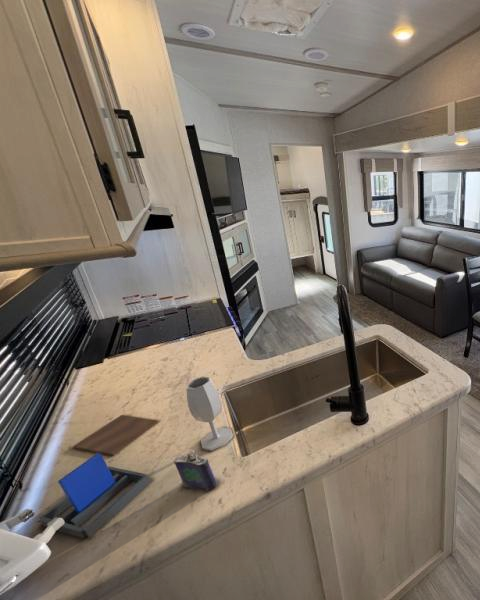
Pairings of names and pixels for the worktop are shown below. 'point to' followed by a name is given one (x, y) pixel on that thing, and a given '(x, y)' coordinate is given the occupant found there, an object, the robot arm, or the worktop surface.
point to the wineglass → (207, 411)
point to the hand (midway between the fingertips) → (46, 515)
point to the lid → (87, 482)
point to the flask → (195, 471)
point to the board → (116, 435)
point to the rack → (97, 505)
